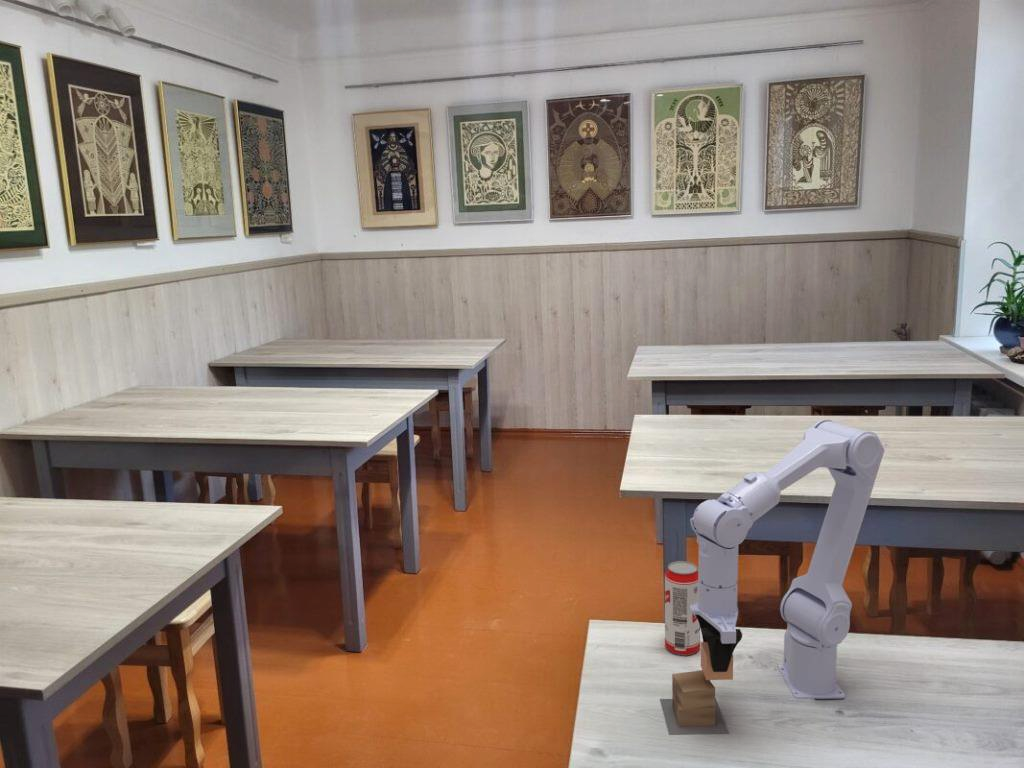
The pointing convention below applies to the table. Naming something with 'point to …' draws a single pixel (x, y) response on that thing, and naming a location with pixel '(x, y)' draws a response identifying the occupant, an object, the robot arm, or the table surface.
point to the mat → (676, 730)
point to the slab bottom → (693, 715)
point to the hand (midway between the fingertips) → (716, 662)
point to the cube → (708, 668)
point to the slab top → (693, 690)
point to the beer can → (681, 608)
